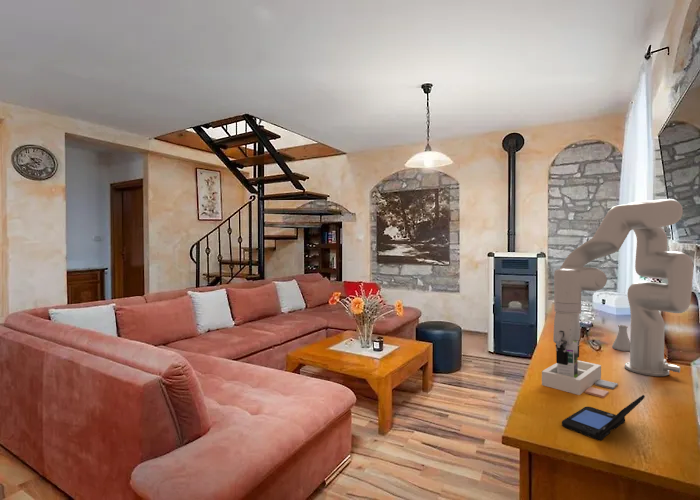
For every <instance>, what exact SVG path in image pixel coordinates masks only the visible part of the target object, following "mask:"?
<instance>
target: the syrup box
mask: <svg viewBox="0 0 700 500" xmlns="http://www.w3.org/2000/svg"><path fill="white" fill-rule="evenodd" d="M562 342H563V341H562ZM564 346H565V345H563V347H564ZM567 352H568V364H567V365H564V364H559V363H557V362H556V363H557V373H558V374H562V375H566V376H570V377H574V378H577V377H578V360H579V357H578V341H577V340H575V341H573V343H572V344H570V345H568V348H567Z"/></svg>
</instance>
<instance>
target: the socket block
mask: <svg viewBox="0 0 700 500" xmlns="http://www.w3.org/2000/svg"><path fill="white" fill-rule="evenodd" d="M593 385H594V386H597V387H602V388H606V389H610V390H614V389H616V387H618V382H613V381H609V380H604V379H602V365H601V364H598V363H594V362H588V361H582V360H579V359H578V377H577V378H574V377H570V376H566V375H562V374H558V373H557V362H556V363H554V364H552V365H550V366H548V367H547V368H545V369H543V370H542V371H541V386H544V387H548V388H552V389H556V390H558V391H563V392H567V393H570V394H573V395H577V396H581V394H583V393H584V394H587V395H591V396H595V397H599V398H602V399H604V398H605V397H607V395H608V394H609V393H610V392H609V391H608V390H606V389H602V388H601V389H600V388H597V387H593Z"/></svg>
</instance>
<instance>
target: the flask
mask: <svg viewBox="0 0 700 500" xmlns="http://www.w3.org/2000/svg"><path fill="white" fill-rule="evenodd" d="M611 348H612V349H614V350H618V351H624V352H630V337H629V335H628V326H627V325H623V324H619V325H618V331H617V335H616V337H615V339H614V341H613V343H612V346H611Z"/></svg>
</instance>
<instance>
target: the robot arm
mask: <svg viewBox="0 0 700 500" xmlns="http://www.w3.org/2000/svg"><path fill="white" fill-rule="evenodd" d="M683 210H684V209H683V206H682V204H681V203H680V202H679V201H677V199H672V198H667V199H666V198H665V199H654V200H652V199H651V200H642V201H633V202H630V203H627V204H618V205H615V206H612V207H611V208H610V209H609V210H608V211H607V213H605V214H606V215H605V216H604V218H603V219H602V221H601V223H600V225H598V228H597V229H596V231H595V232H594V235H593V236H592V238H590V239H589V240H587V241H585V242H584V243H582V244H581V245H579V246H578V247H576V248H575V249H574V250H572V251H571V252H570V253H569V254H568V255H567V257H566V258H565V260H564V261H563V263H562V264H561V266H560V268H558V269H556V270H554V273H553V279H554V280H553V281H554V282H553V286H554V287H553V288H554V289H553V292H554V293H553V294H554V296H553V297H554V298H553V299H554V305H553V307H554V312H555V313H554V319H553V320H554V321H553V342H554V343H555V351H556V353H555V358H556V359H555V360H556V361H555V362H556V363H559V364H564V365H567V364H568V352H567V348H568V345H570V344H572V343H573V341H575V340H577V341H578V358H580V341H579V340H580V336H581V335H580V334H581V326H580V325H581V324H580V314H582V291H587V292H596V291H597V292H598V291H600V290H602V289H604V287H606V285H607V282H608V278H607V277H608V276H607V275H606V273H605V272H604V271H603V270H601V269H599V268H596V267H590V266H589V267H588V266H586V265H587V264H589V263H591V262H592V261H594V260H597V259H600V258H604V257H607V256H610V255H612V254H614V253H615V254H616V253H617V252H618V251H620V249H621V247H622V246H623V244H624V242H625V240H626V239H627V237H628V235H629V234H630V232H631V231H633V232H634V234H635V237H636V247H635V248H636V250H635V252H636V253H635V263H634V264H635V265H634V268H635V273H636V274H637V275H638V276H640V277H642V278H648V279H659V280H667V283H665V282H664V283H661V282H655V281H642V280H641V281H637V282H633V283H631V284H630V285H629V287H628V288H627V292H626V293H627V300H628V304H629V305H628V306H629V310H630V311H629V312H630V330H629V331H630V337H629V340H630V351H629V361H628V362H626V363H624V368H625V369H626V370H628V371H630V372H632V373H635V374H640V375H644V376H650V377H666V376H669V375H670V374H671V373H670V372H673V373H674V372H675V373H679V374H680V372H681V366H678V365H676V364H671V363H668V362H667V359H666V358H665V325H666V324H665V320H664V318H663V316H662V315H661V313H660V312H667V313H673V314H682V313H685V312H686V311H687V310H688V309H689V307H690V305H691V301H692V293H693V291H692V290H693V277H694V264H693V260H692V258H691V257H690V256H689V255H688V254H687V253H684V252H681V251H668V236H667V234H666V231H664V229H663V227H667V226H668V227H669V226H672V225H675V224H676V223H678V222H679V221H680V220H681V218H682V217H683V214H684V213H683ZM562 341H563V342H562ZM563 345H565V346H564V347H563Z"/></svg>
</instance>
